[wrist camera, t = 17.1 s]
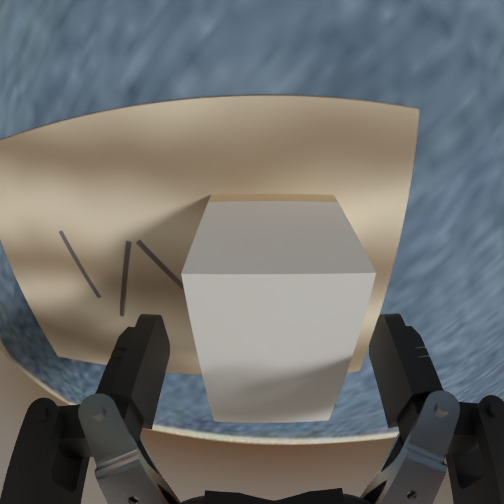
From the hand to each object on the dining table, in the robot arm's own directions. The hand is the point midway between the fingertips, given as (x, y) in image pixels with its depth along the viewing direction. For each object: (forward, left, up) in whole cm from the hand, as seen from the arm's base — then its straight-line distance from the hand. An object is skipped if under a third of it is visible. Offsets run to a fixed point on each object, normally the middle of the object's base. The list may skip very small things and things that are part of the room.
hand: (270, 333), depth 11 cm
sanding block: (0, 0, -4) cm, 4 cm away
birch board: (0, -5, -5) cm, 7 cm away
